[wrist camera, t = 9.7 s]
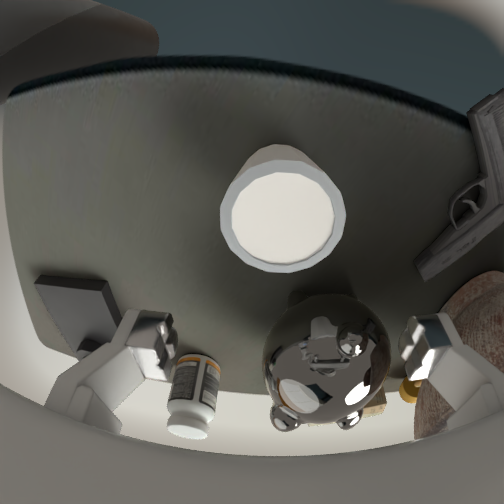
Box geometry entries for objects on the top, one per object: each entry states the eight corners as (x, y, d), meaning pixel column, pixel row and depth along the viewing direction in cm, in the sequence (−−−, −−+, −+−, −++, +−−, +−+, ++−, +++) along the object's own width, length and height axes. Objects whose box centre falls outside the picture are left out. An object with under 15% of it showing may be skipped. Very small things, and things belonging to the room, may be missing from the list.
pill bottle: (178, 370, 36) (162, 434, 27) (178, 347, 33) (160, 418, 24) (218, 379, 36) (209, 444, 28) (224, 357, 33) (214, 430, 25)
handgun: (373, 193, 19) (428, 288, 23) (514, 86, 12) (542, 194, 16) (364, 182, 21) (420, 274, 25) (499, 83, 13) (530, 185, 18)
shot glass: (215, 165, 20) (193, 202, 15) (296, 118, 18) (310, 135, 12) (263, 234, 23) (261, 290, 18) (338, 196, 21) (364, 243, 15)
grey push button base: (40, 274, 28) (26, 292, 25) (107, 280, 27) (93, 302, 24) (82, 351, 36) (73, 368, 33) (143, 363, 36) (136, 383, 33)
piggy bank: (257, 355, 32) (252, 444, 23) (272, 249, 24) (272, 364, 15) (345, 358, 32) (359, 441, 23) (390, 260, 24) (438, 360, 15)
